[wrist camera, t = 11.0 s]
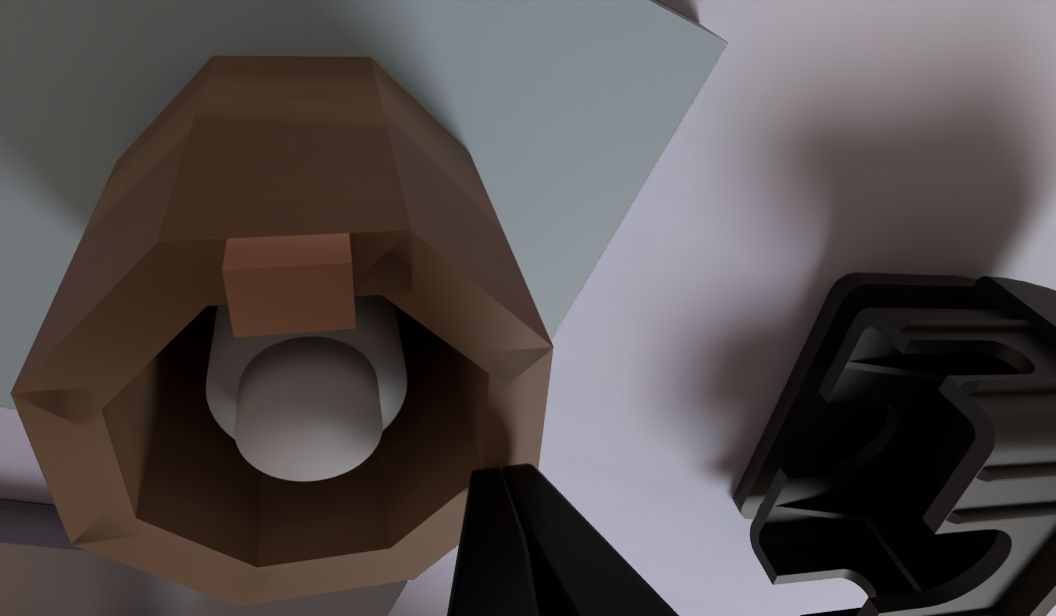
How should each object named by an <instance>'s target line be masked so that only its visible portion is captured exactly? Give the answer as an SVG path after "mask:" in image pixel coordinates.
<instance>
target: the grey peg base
mask: <svg viewBox="0 0 1056 616" xmlns="http://www.w3.org/2000/svg"><path fill="white" fill-rule="evenodd" d="M727 44H728V42H727V41H725V40H723V39H722V38H720V37H719V36H717V35H716V34H714V33H713V32H711V31H710V30H708V29H707V28H705V27H704V26H702V25H701V24H699V23H697V22H695V21H693V20H691V19H689V18H688V17H686V16H684V15H682V14H680V13H678V12H676V11H674V10H673V9H671V8H669V7H667V6H665V5H663V4H661V3H660V2H658V1H656V0H0V407H3V408H9V409H15V410H17V409H16V406H15V404H14V401H13V399H12V396H11V394H10V393H11V391H12V389H13V387H14V384H15V382H16V380H17V378H18V376H19V373H20V371H21V369H22V367H23V365H24V363H25V360H26V358H27V356H28V354H29V352H30V349H31V347H32V345H33V343H34V341H35V339H36V336H37V334H38V332H39V330H40V328H41V325H42V323H43V321H44V319H45V317H46V315H47V312H48V310H49V308H50V306H51V304H52V301H53V299H54V297H55V295H56V293H57V291H58V288H59V286H60V284H61V282H62V280H63V277H64V275H65V273H66V271H67V269H68V266H69V264H70V262H71V260H72V258H73V256H74V253H75V251H76V249H77V247H78V245H79V242H80V240H81V238H82V236H83V234H84V232H85V229H86V227H87V225H88V223H89V221H90V218H91V216H92V214H93V212H94V210H95V208H96V205H97V203H98V201H99V199H100V197H101V194H102V192H103V190H104V188H105V186H106V184H107V181H108V179H109V177H110V175H111V173H112V170H113V168H114V166H115V164H116V162H117V160H118V159H119V158H120V157H121V156H122V155H123V154H124V152H125V151H126V150H127V149H128V148H129V147H130V146H131V145H132V144H133V143H134V142H135V140H136V139H137V138H138V137H139V136H140V135H141V134H142V133H143V132H144V131H145V129H146V128H147V127H148V126H149V125H150V124H151V123H152V122H153V121H154V120H155V119H156V117H157V116H158V115H159V114H160V113H161V112H162V111H163V110H164V109H165V108H166V107H167V105H168V104H169V103H170V102H171V101H172V100H173V99H174V98H175V97H176V96H177V94H178V93H179V92H180V91H181V90H182V89H183V88H184V87H185V86H186V85H187V84H188V82H189V81H190V80H191V79H192V78H193V77H194V76H195V75H196V74H197V73H198V71H199V70H200V69H201V68H202V67H203V66H204V65H205V64H206V63H207V62H208V61H209V59H210V58H211V57H212V56H319V57H371V58H372V59H373V60H374V61H375V62H376V63H377V64H378V65H379V66H380V67H381V68H382V69H383V70H384V71H385V72H386V73H387V74H388V75H390V76H391V77H392V78H393V79H394V80H395V81H396V82H397V83H398V84H399V85H400V86H401V87H402V88H403V89H404V90H405V91H406V92H407V93H408V94H409V95H410V96H411V97H412V98H413V99H414V100H416V101H417V102H418V103H419V104H420V105H421V106H422V107H423V108H424V109H425V110H426V111H427V112H428V113H429V114H430V115H431V116H432V117H433V118H434V119H435V120H436V121H437V122H438V123H439V124H440V125H442V126H443V127H444V128H445V129H446V130H447V131H448V132H449V133H450V134H451V135H452V136H453V137H454V138H455V139H456V140H457V141H458V142H459V143H460V144H461V145H462V146H463V147H464V148H465V149H466V150H468V151H469V152H470V154H471V157H472V159H473V161H474V164H475V166H476V168H477V171H478V173H479V175H480V178H481V180H482V182H483V185H484V187H485V189H486V192H487V194H488V196H489V199H490V201H491V203H492V205H493V208H494V210H495V212H496V215H497V217H498V219H499V222H500V224H501V226H502V229H503V231H504V233H505V236H506V238H507V240H508V243H509V245H510V247H511V250H512V252H513V254H514V257H515V259H516V261H517V264H518V266H519V268H520V271H521V273H522V275H523V277H524V280H525V282H526V284H527V287H528V289H529V291H530V294H531V296H532V298H533V301H534V303H535V305H536V308H537V310H538V312H539V315H540V317H541V319H542V322H543V324H544V326H545V329H546V331H547V333H548V336H549V338H550V340H552V338H553V336H554V335H555V333H556V331H557V330H558V328H559V326H560V325H561V323H562V321H563V320H564V318H565V316H566V314H567V313H568V311H569V309H570V308H571V306H572V304H573V303H574V301H575V299H576V298H577V296H578V294H579V293H580V291H581V289H582V288H583V286H584V284H585V283H586V281H587V279H588V278H589V276H590V274H591V272H592V271H593V269H594V267H595V266H596V264H597V262H598V261H599V259H600V257H601V256H602V254H603V252H604V251H605V249H606V247H607V246H608V244H609V242H610V241H611V239H612V237H613V236H614V234H615V232H616V230H617V229H618V227H619V225H620V224H621V222H622V220H623V219H624V217H625V215H626V214H627V212H628V210H629V209H630V207H631V205H632V204H633V202H634V200H635V199H636V197H637V195H638V193H639V192H640V190H641V188H642V187H643V185H644V183H645V182H646V180H647V178H648V177H649V175H650V173H651V172H652V170H653V168H654V167H655V165H656V163H657V162H658V160H659V158H660V157H661V155H662V153H663V151H664V150H665V148H666V146H667V145H668V143H669V141H670V140H671V138H672V136H673V135H674V133H675V131H676V130H677V128H678V126H679V125H680V123H681V121H682V120H683V118H684V116H685V115H686V113H687V111H688V109H689V108H690V106H691V104H692V103H693V101H694V99H695V98H696V96H697V94H698V93H699V91H700V89H701V88H702V86H703V84H704V83H705V81H706V79H707V78H708V76H709V74H710V72H711V71H712V69H713V67H714V66H715V64H716V62H717V61H718V59H719V57H720V56H721V54H722V52H723V51H724V49H725V47H726V46H727ZM354 304H355V320H356V329H343V330H330V331H316V332H303V333H290V334H276V335H263V336H250V337H236V338H234V336H233V330H232V324H231V319H230V313H229V307H228V305H218V306H217V313H216V320H215V326H214V333H213V339H212V346H211V353H210V359H209V366H208V372H207V379H206V396H207V402H208V405H209V408H210V411H211V412H212V414H213V416H214V418H215V420H216V421H217V422H218V424H219V425H220V427H221V428H222V429H223V430H224V431H225V432H226V433H227V434H228V435H230V436H231V437H232V438H234V439H235V440H236V444H237V447H238V449H239V451H240V453H241V454H242V455H243V457H244V458H245V459H246V460H247V461H248V462H249V463H250V464H251V465H252V466H254V467H255V468H256V469H258V470H260V471H262V472H263V473H266V474H268V475H270V476H273V477H277V478H280V479H285V480H291V481H317V480H323V479H328V478H332V477H335V476H338V475H341V474H343V473H345V472H348V471H350V470H352V469H353V468H355V467H357V466H358V465H359V464H361V463H362V462H363V461H365V460H366V459H367V458H368V457H369V456H370V455H371V454H372V452H373V451H374V450H375V448H376V447H377V445H378V443H379V441H380V438H381V435H382V431H383V430H384V429H385V428H386V427H387V426H388V425H389V424H390V423H391V422H392V421H393V419H394V418H395V417H396V415H397V414H398V412H399V410H400V409H401V406H402V404H403V402H404V399H405V395H406V391H407V374H406V367H405V361H404V356H403V350H402V344H401V338H400V332H399V327H398V321H397V315H396V309H395V304H393V303H392V302H391V301H389V300H388V299H387V298H385V297H384V296H383V295H369V296H354Z"/></svg>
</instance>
